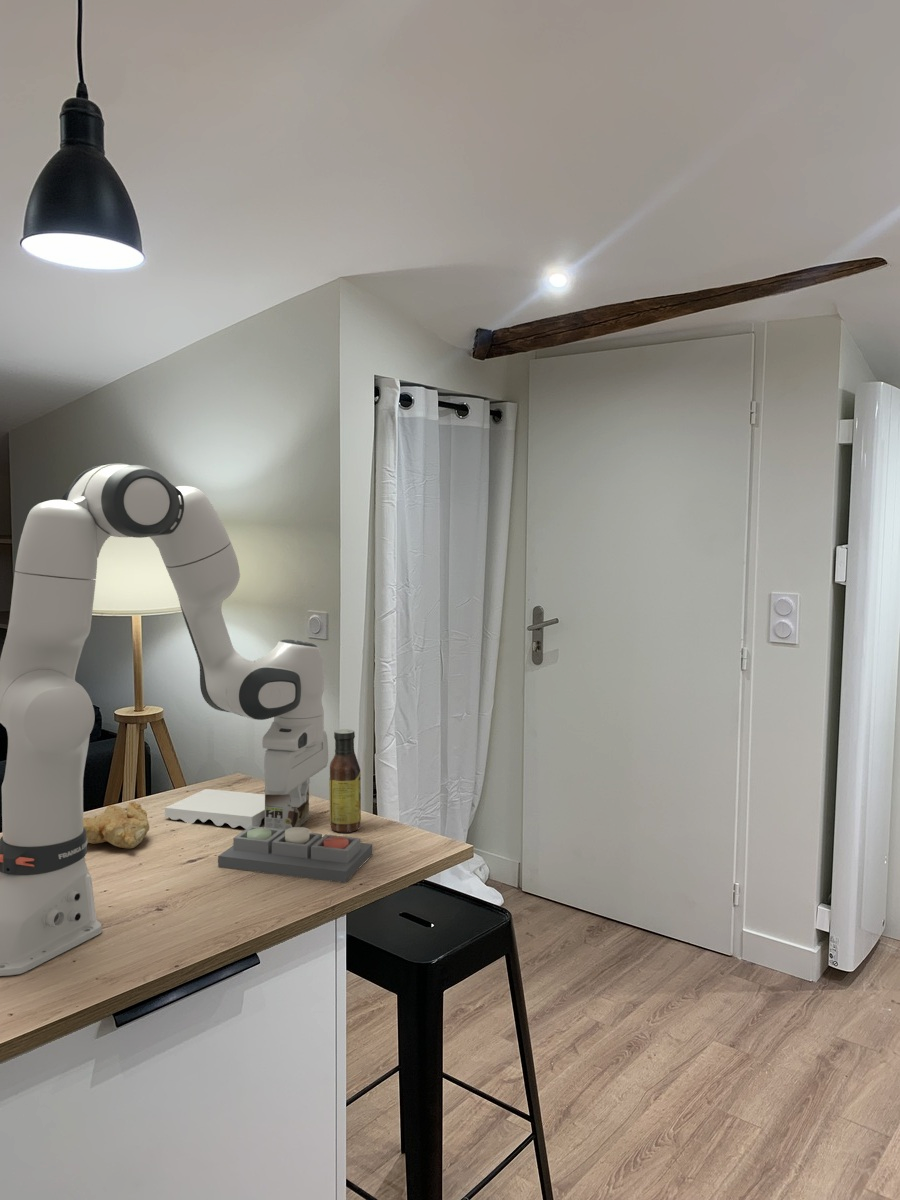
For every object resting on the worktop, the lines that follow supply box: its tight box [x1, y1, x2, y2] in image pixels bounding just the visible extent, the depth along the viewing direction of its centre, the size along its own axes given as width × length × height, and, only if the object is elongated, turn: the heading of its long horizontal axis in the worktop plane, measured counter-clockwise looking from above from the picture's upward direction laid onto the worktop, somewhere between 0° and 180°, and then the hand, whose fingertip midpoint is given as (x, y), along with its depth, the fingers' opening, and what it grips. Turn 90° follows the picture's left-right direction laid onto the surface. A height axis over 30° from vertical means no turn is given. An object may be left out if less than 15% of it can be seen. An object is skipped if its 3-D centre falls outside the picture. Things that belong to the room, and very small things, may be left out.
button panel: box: [217, 826, 373, 884], centre depth 167 cm, size 14×24×4 cm, turn 76°
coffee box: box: [264, 749, 310, 832], centre depth 186 cm, size 9×6×16 cm
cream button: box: [284, 826, 311, 844], centre depth 166 cm, size 4×4×2 cm
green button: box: [247, 828, 271, 840], centre depth 168 cm, size 4×4×2 cm
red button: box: [324, 837, 349, 849], centre depth 165 cm, size 4×4×2 cm
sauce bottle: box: [328, 728, 362, 834], centre depth 184 cm, size 6×6×20 cm
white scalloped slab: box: [164, 788, 265, 830], centre depth 192 cm, size 15×3×20 cm
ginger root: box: [83, 801, 150, 850], centre depth 174 cm, size 16×16×8 cm
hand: (298, 804), depth 166 cm, fingers closed
